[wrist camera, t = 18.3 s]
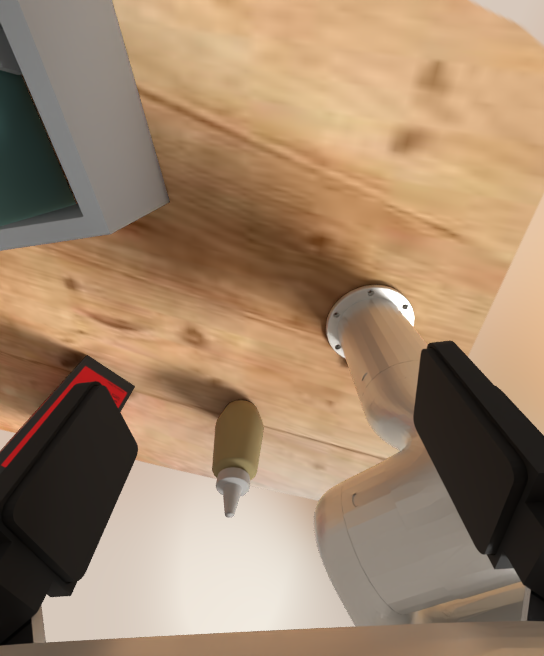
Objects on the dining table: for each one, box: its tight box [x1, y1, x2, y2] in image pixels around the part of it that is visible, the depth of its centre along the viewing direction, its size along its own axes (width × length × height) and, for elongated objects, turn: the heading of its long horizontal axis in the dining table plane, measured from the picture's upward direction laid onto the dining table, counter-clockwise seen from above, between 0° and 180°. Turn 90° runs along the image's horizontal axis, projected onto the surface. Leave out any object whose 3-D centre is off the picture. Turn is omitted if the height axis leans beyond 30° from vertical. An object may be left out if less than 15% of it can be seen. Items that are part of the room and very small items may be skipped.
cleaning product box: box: [0, 355, 135, 474], centre depth 45 cm, size 16×9×20 cm, turn 134°
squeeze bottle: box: [212, 400, 264, 517], centre depth 48 cm, size 8×8×18 cm
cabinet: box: [0, 0, 170, 251], centre depth 27 cm, size 20×16×16 cm
